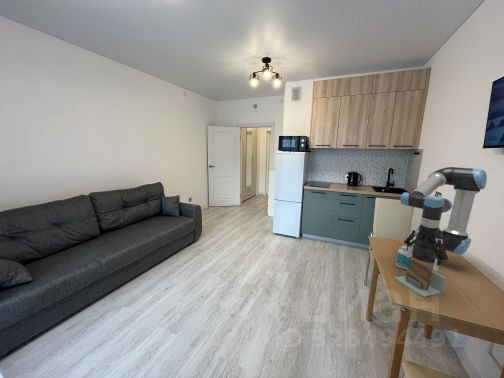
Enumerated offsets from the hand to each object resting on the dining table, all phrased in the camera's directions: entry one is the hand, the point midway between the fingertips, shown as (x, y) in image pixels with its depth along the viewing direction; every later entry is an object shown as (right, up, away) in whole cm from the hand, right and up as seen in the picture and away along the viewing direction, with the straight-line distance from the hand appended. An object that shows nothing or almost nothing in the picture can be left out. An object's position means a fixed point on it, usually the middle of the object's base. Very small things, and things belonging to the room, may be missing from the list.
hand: (421, 263), depth 114 cm
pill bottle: (+5, -10, +22) cm, 25 cm away
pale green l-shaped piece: (0, -13, +2) cm, 14 cm away
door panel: (-1, -12, +2) cm, 12 cm away
